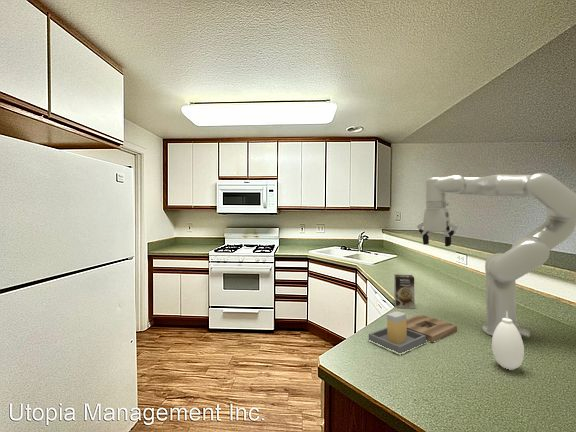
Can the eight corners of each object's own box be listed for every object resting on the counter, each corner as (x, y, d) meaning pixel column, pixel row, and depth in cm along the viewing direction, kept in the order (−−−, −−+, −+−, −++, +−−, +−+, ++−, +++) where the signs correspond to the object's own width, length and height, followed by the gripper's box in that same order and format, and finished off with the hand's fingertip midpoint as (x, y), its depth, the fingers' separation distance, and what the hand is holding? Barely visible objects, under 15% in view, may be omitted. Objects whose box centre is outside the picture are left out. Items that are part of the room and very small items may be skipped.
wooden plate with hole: (457, 331, 118) (457, 325, 118) (432, 343, 108) (432, 336, 108) (420, 319, 131) (420, 314, 131) (395, 329, 121) (395, 323, 121)
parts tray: (426, 343, 108) (425, 335, 108) (400, 356, 99) (399, 347, 99) (394, 331, 119) (394, 324, 119) (368, 341, 110) (368, 334, 110)
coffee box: (395, 308, 148) (395, 276, 147) (394, 304, 154) (393, 274, 154) (415, 309, 145) (414, 277, 145) (412, 305, 152) (412, 274, 152)
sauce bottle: (486, 365, 92) (485, 308, 92) (503, 360, 95) (502, 305, 95) (513, 377, 85) (512, 316, 84) (530, 372, 87) (529, 312, 87)
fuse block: (406, 340, 109) (406, 314, 109) (396, 344, 106) (396, 317, 106) (397, 336, 112) (397, 311, 112) (387, 340, 109) (386, 314, 109)
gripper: (461, 205, 121) (461, 246, 121) (422, 206, 135) (422, 243, 135) (451, 205, 117) (452, 247, 117) (412, 206, 131) (413, 244, 131)
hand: (436, 245), depth 126 cm, fingers open, 9 cm apart
